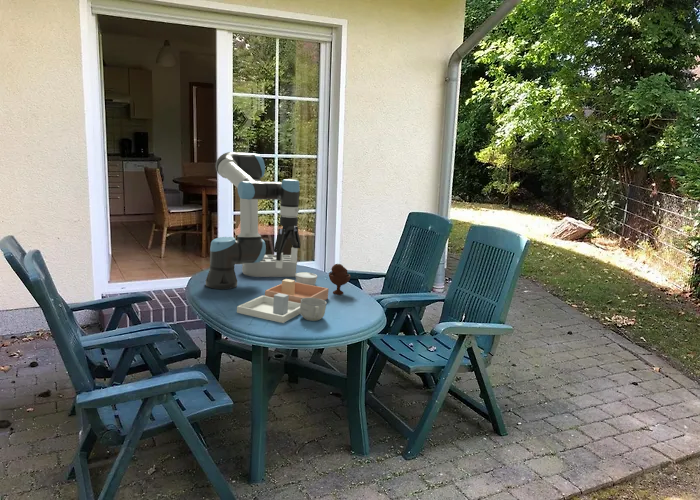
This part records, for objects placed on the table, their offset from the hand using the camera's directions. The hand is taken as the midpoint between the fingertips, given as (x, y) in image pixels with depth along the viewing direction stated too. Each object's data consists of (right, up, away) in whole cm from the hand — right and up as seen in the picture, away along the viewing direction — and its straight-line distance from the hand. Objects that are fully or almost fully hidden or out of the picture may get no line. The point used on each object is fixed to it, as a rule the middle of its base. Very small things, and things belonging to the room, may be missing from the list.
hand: (286, 265), depth 233 cm
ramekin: (+5, -12, +46) cm, 47 cm away
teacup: (+12, -23, -8) cm, 27 cm away
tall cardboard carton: (-2, -15, +20) cm, 25 cm away
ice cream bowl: (+21, -15, +35) cm, 43 cm away
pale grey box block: (-2, -20, -4) cm, 21 cm away
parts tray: (-6, -20, -2) cm, 21 cm away
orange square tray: (+3, -17, +18) cm, 25 cm away
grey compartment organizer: (-18, -6, +62) cm, 65 cm away
